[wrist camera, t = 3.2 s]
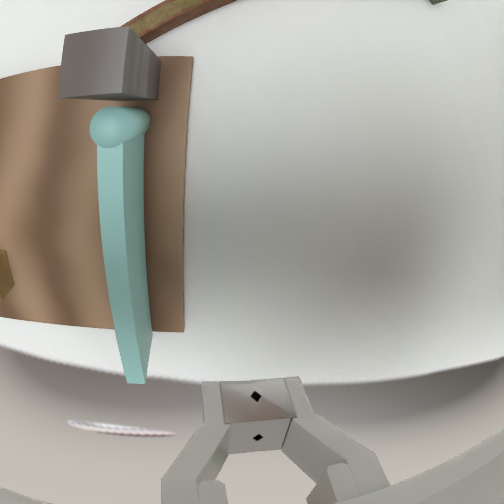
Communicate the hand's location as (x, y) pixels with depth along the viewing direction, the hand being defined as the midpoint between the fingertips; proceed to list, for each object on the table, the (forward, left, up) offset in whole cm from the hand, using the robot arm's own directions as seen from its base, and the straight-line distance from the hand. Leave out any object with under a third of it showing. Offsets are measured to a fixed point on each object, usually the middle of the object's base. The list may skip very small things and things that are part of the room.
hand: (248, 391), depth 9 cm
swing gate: (+6, 0, -12) cm, 13 cm away
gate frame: (+12, -2, -13) cm, 18 cm away
